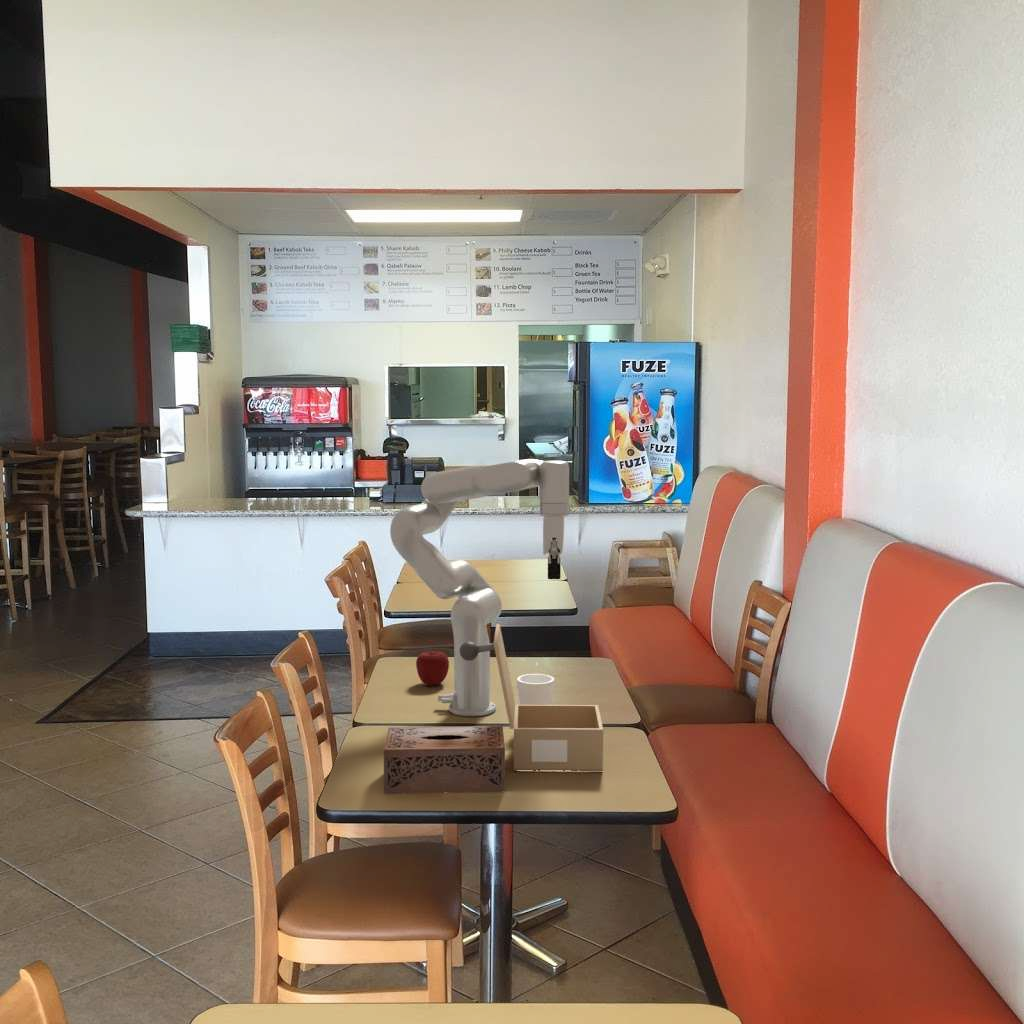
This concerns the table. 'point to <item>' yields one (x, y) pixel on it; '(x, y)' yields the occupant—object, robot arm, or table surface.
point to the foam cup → (535, 689)
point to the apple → (432, 667)
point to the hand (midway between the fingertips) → (554, 575)
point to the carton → (558, 738)
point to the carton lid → (471, 652)
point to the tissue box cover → (444, 759)
